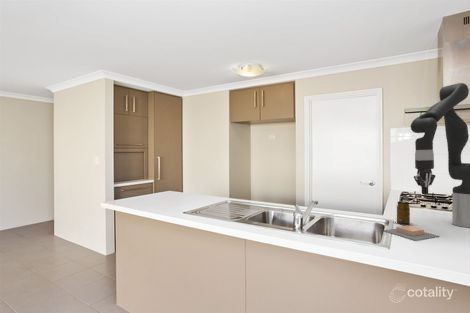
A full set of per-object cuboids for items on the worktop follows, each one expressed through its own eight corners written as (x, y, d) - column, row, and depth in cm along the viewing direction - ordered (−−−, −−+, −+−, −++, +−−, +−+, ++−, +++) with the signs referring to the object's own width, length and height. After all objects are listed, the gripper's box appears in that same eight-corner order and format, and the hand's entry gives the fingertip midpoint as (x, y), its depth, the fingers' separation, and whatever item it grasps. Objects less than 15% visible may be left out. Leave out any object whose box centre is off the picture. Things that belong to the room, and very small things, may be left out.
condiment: (403, 221, 151) (403, 200, 150) (416, 225, 142) (416, 203, 142) (392, 222, 149) (392, 201, 149) (405, 226, 141) (405, 203, 140)
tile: (407, 225, 132) (396, 226, 129) (424, 229, 125) (412, 231, 122) (407, 230, 132) (396, 231, 129) (424, 234, 125) (412, 236, 122)
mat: (405, 227, 137) (405, 227, 137) (439, 236, 123) (439, 235, 123) (383, 231, 132) (383, 230, 132) (415, 241, 117) (415, 240, 117)
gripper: (425, 158, 136) (426, 192, 136) (407, 159, 131) (408, 194, 131) (441, 158, 129) (442, 194, 129) (423, 159, 124) (423, 196, 124)
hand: (424, 194), depth 130 cm, fingers closed
